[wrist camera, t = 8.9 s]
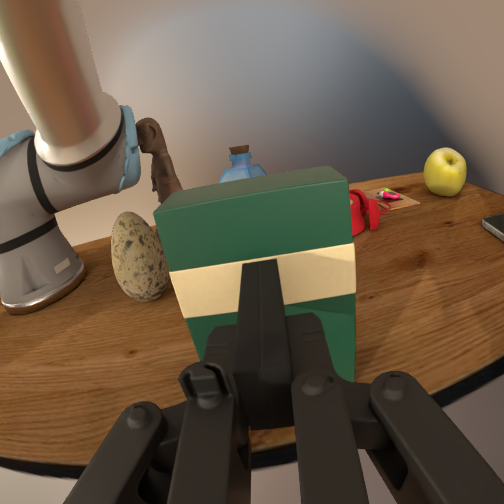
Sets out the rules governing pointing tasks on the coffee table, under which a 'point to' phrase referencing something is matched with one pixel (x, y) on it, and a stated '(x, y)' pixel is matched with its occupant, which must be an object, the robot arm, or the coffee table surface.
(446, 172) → the apple
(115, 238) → the decorative egg
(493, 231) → the phone
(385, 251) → the coffee table surface
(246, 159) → the perfume bottle
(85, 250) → the coffee table surface
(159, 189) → the figurine
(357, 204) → the alarm clock
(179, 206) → the tea packet
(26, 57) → the robot arm
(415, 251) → the coffee table surface
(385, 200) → the board
